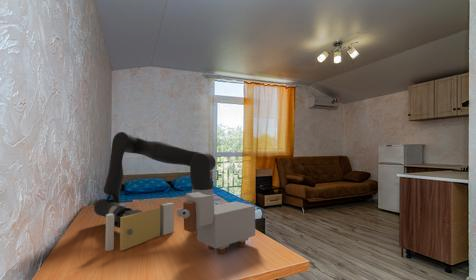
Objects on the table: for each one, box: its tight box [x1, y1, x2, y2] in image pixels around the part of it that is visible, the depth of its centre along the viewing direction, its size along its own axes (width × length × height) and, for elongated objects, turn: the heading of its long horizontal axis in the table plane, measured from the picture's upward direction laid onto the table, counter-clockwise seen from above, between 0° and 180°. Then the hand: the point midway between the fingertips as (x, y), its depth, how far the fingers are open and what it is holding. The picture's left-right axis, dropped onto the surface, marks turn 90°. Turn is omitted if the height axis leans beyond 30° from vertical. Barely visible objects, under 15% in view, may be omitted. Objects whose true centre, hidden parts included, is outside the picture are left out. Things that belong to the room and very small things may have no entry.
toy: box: [176, 192, 256, 255], centre depth 83 cm, size 11×28×20 cm, turn 132°
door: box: [119, 206, 160, 252], centre depth 90 cm, size 17×3×11 cm, turn 152°
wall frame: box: [104, 202, 175, 252], centre depth 93 cm, size 26×2×12 cm, turn 137°
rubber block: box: [125, 209, 143, 216], centre depth 93 cm, size 5×7×10 cm
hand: (138, 223), depth 91 cm, fingers closed on rubber block, 5 cm apart
